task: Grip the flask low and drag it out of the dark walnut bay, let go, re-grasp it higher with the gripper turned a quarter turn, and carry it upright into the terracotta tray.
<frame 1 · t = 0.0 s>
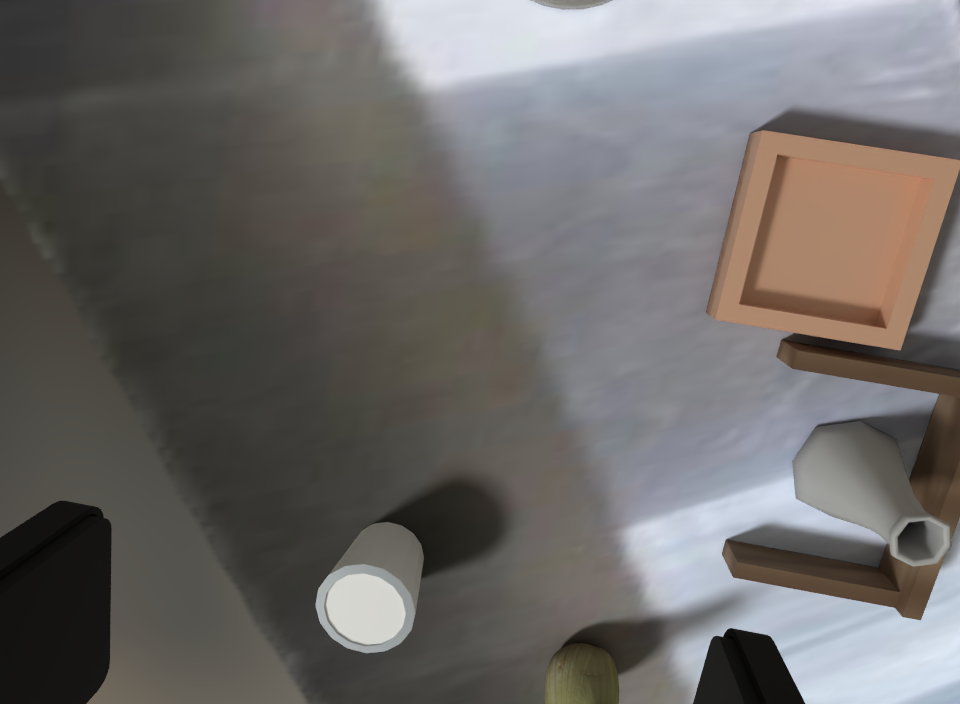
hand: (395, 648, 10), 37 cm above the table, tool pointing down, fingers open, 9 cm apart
flask: (842, 466, 47), on the table
bay: (843, 468, 46), on the table
tray: (817, 240, 43), on the table
white tapered cylinder: (388, 553, 52), on the table
fennel bulb: (578, 658, 52), on the table
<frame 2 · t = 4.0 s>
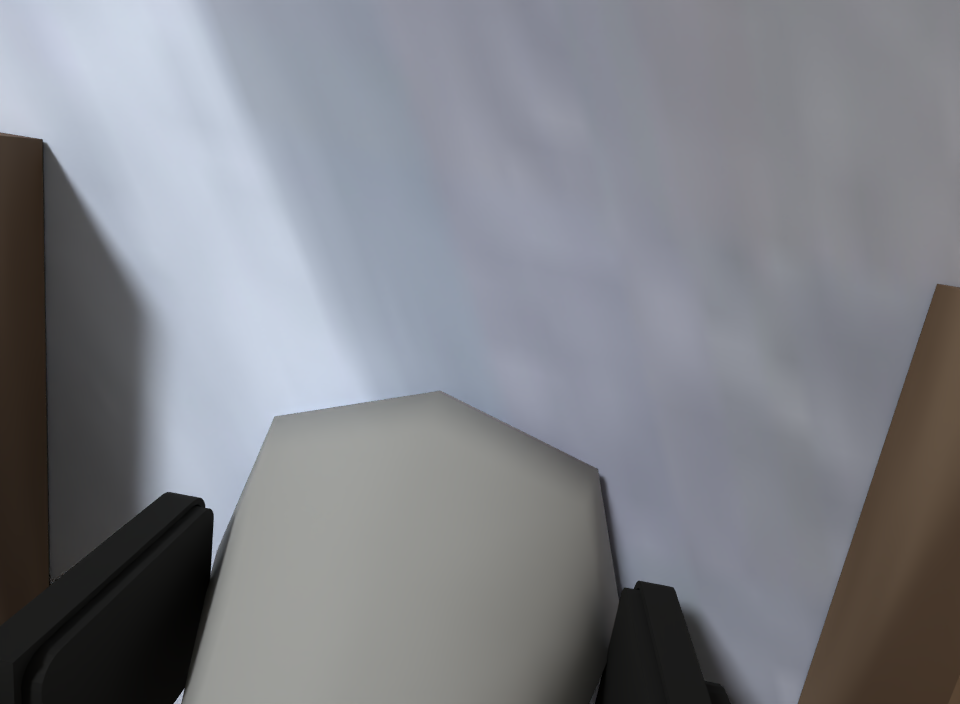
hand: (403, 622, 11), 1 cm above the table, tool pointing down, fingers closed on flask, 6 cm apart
flask: (420, 570, 12), on the table, touching gripper
bay: (419, 576, 12), on the table
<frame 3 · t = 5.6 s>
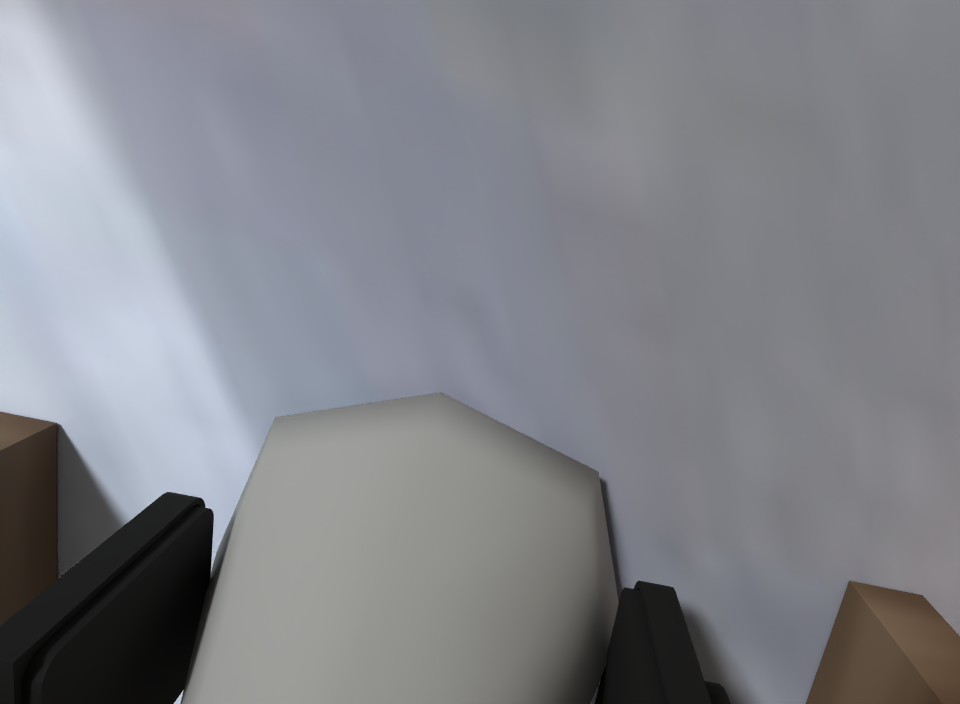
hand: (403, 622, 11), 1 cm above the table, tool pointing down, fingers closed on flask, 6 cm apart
flask: (420, 571, 12), on the table, touching gripper
when the fingers open (1 cm above the table, at t = 7.5 s): flask stays where it is, on the table.
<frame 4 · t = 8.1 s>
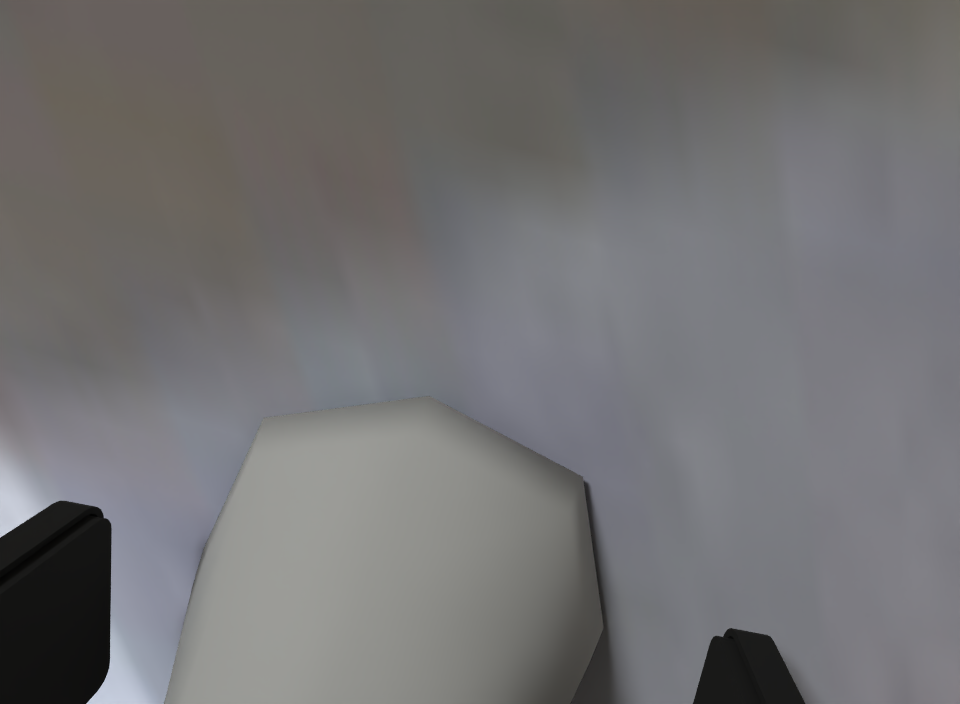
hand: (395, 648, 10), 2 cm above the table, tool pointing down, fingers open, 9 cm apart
flask: (405, 572, 12), on the table
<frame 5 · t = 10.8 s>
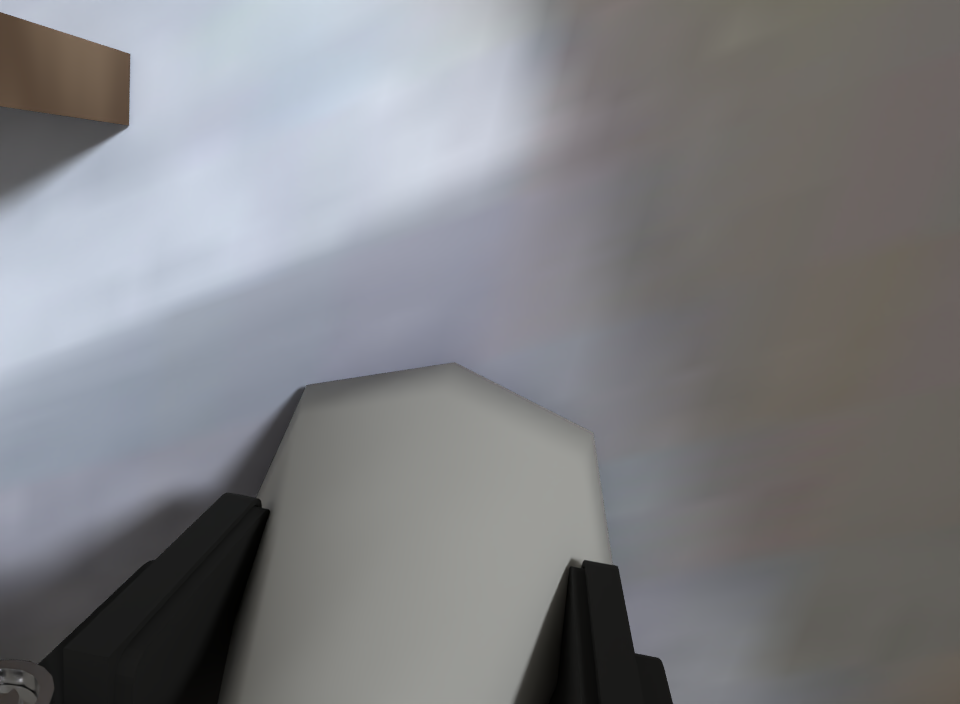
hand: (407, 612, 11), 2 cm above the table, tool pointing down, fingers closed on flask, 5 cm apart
flask: (434, 526, 14), on the table, touching gripper
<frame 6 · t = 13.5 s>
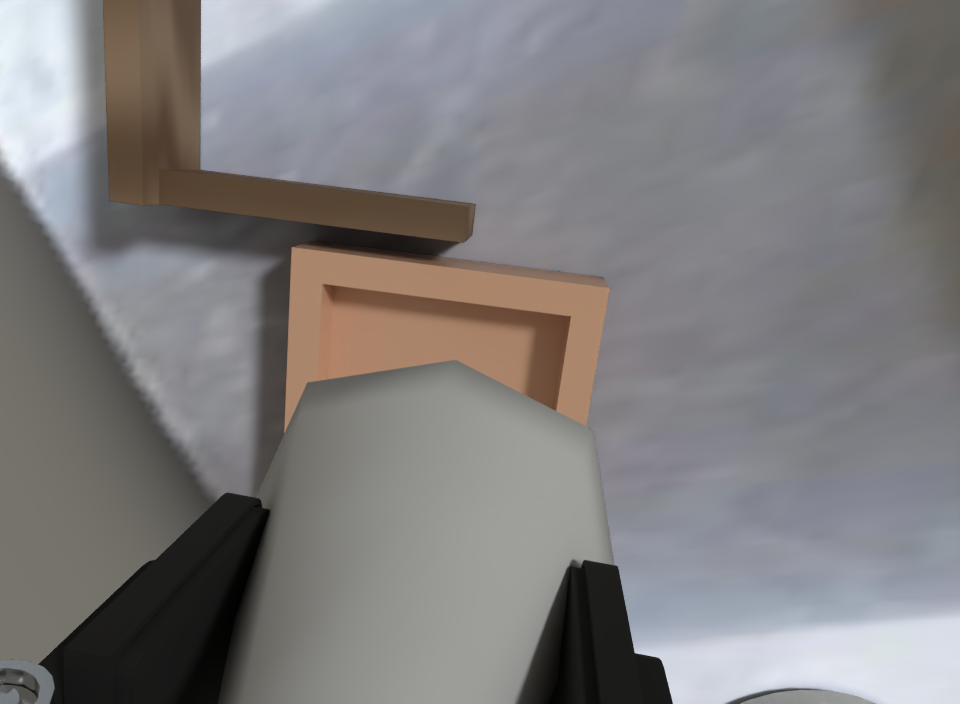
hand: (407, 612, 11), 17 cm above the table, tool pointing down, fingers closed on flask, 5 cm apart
flask: (434, 523, 13), point 14 cm above the table, touching gripper
tray: (442, 396, 28), on the table
when the fingers open (5 cm above the table, at t = 16.5 s): flask drops 1 cm, resting on tray.
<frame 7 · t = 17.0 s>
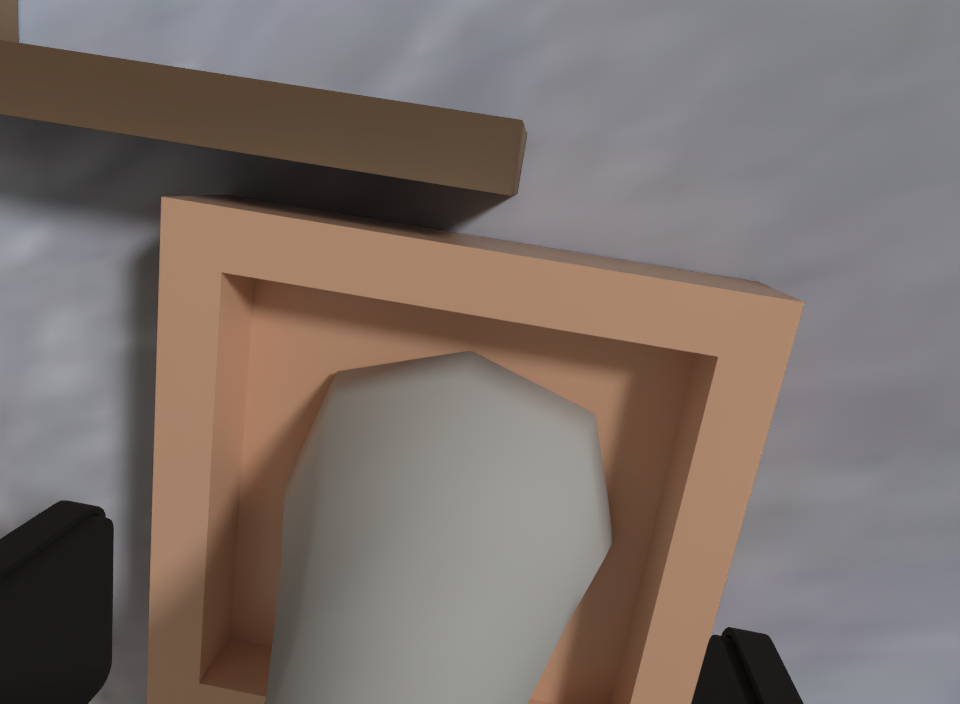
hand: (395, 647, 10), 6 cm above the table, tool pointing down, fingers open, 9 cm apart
flask: (451, 500, 15), point 1 cm above the table, touching tray
tray: (448, 483, 16), on the table
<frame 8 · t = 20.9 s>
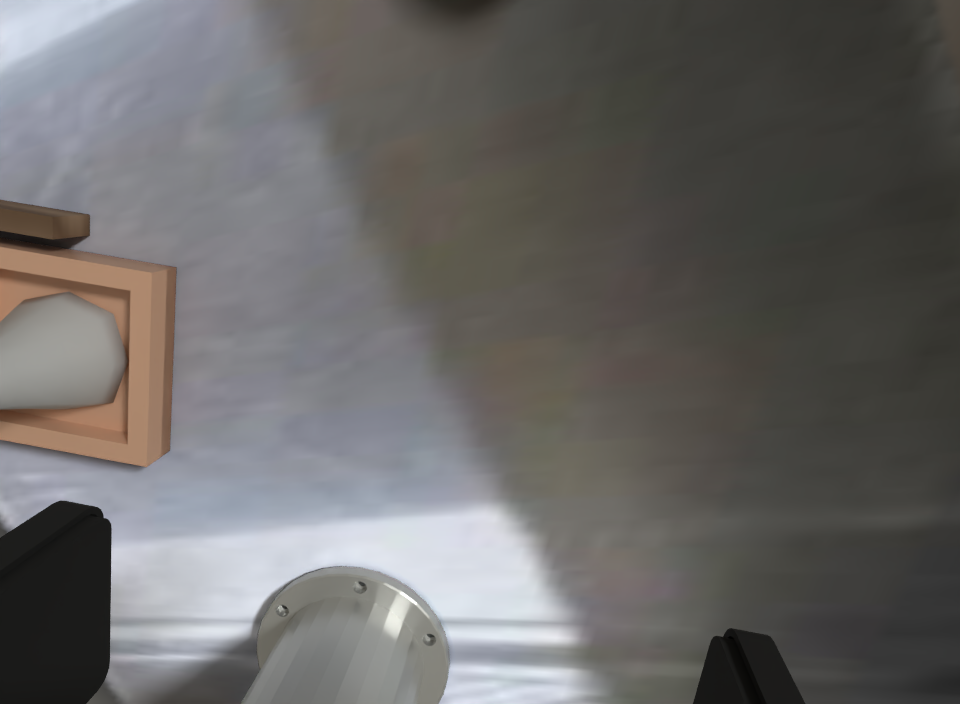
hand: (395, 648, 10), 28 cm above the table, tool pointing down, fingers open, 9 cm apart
flask: (75, 349, 40), point 1 cm above the table, touching tray
tray: (81, 346, 40), on the table
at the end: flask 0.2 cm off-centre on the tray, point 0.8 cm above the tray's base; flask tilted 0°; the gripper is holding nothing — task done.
